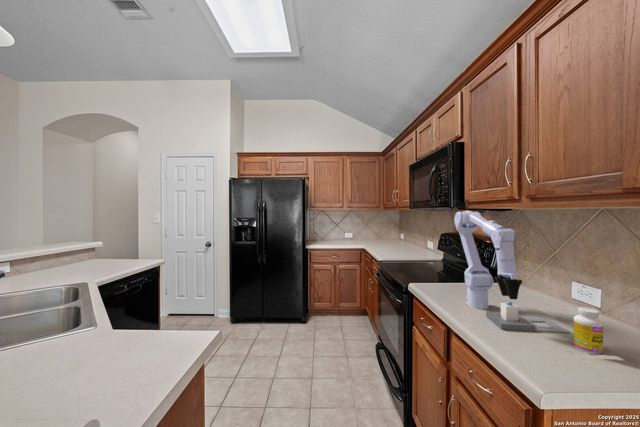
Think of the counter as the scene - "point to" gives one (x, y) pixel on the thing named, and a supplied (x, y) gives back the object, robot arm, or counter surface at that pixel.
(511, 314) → the plug block
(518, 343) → the counter surface
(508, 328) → the jack panel
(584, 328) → the supplement bottle
